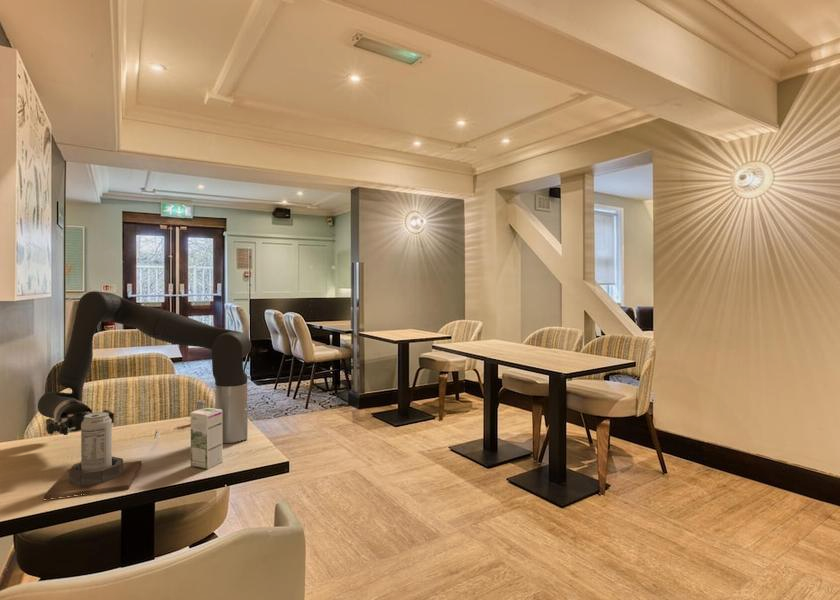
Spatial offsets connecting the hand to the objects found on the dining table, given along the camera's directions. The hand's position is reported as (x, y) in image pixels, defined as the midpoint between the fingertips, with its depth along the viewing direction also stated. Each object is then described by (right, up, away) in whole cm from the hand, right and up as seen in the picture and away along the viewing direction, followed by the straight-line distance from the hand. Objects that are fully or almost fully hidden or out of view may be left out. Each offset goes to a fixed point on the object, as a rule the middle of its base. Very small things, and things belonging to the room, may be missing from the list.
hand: (87, 427), depth 117 cm
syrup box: (+28, -11, +5) cm, 31 cm away
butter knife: (+5, -11, +22) cm, 25 cm away
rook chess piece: (+9, -10, +42) cm, 44 cm away
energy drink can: (+7, -10, -6) cm, 14 cm away
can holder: (+7, -11, -6) cm, 15 cm away
